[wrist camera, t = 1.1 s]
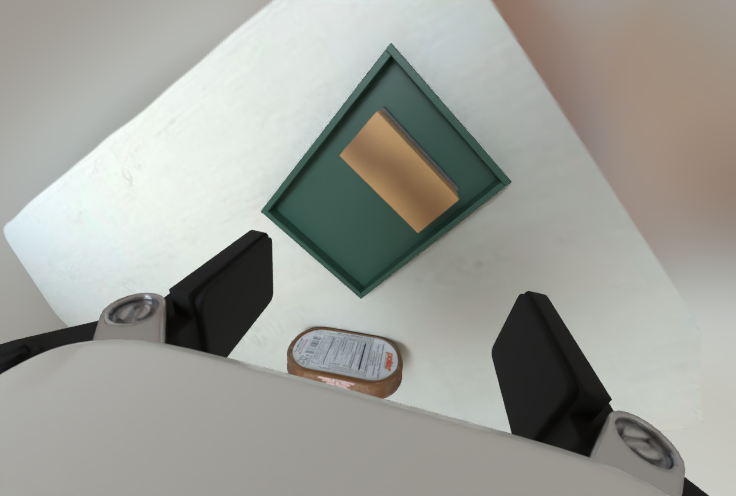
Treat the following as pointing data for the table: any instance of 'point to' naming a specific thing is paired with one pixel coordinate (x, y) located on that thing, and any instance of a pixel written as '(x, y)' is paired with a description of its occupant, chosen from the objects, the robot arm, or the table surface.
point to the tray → (359, 200)
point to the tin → (346, 360)
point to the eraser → (400, 170)
